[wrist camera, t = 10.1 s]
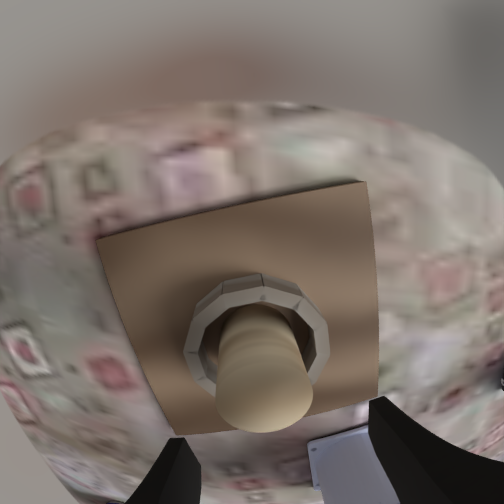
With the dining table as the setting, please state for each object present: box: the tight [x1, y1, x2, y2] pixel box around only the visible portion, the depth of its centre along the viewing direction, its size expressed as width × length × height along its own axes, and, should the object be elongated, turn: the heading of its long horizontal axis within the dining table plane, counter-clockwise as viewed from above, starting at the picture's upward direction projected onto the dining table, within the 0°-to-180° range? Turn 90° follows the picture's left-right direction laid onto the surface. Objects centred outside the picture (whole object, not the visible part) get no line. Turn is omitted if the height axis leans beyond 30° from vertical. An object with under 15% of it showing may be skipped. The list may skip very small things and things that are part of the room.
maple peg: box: [215, 305, 313, 433], centre depth 15 cm, size 4×4×6 cm
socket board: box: [96, 181, 379, 435], centre depth 18 cm, size 16×16×3 cm
